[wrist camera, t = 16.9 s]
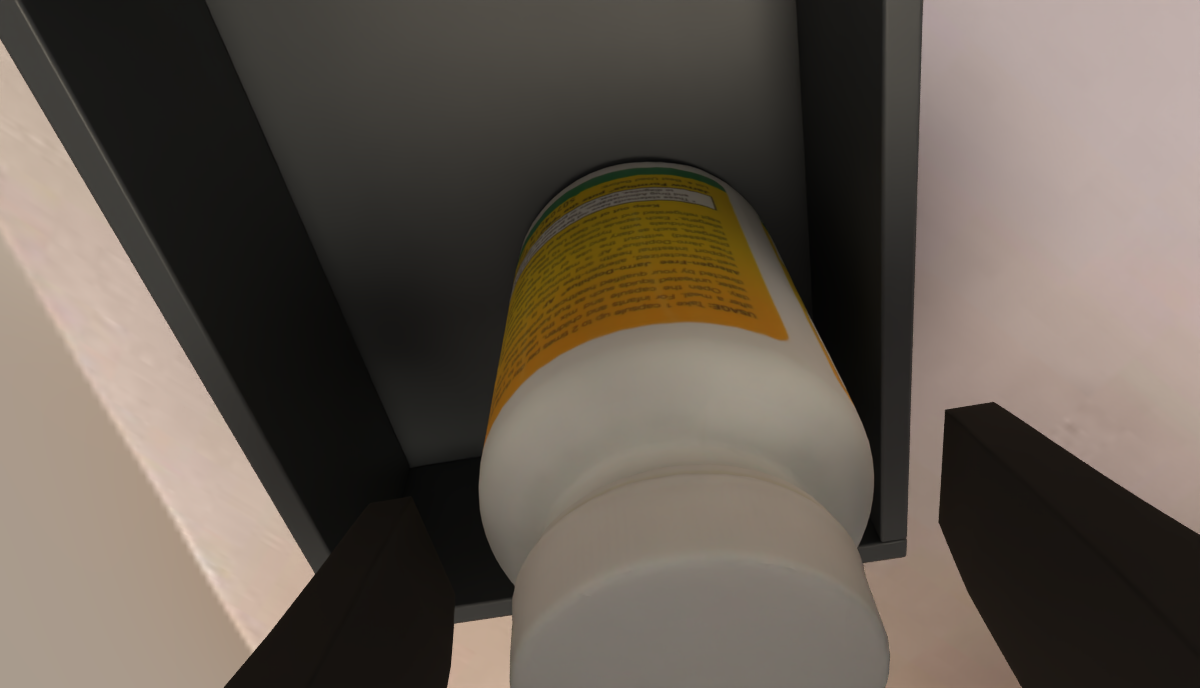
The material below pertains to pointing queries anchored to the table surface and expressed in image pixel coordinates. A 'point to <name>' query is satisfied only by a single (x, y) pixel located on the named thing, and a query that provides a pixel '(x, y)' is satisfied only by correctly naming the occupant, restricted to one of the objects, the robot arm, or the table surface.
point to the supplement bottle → (674, 453)
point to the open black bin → (466, 206)
